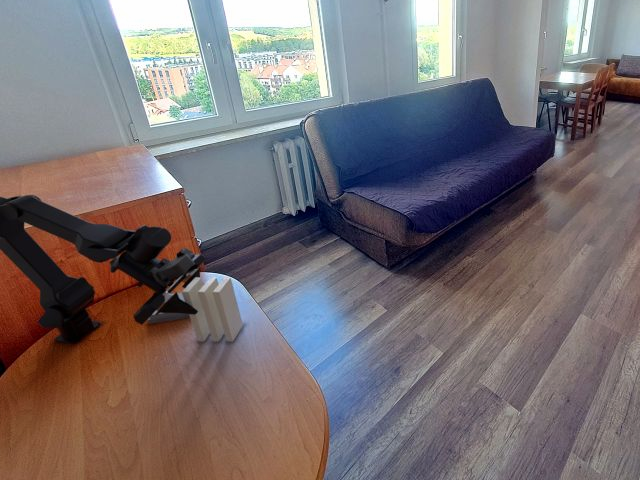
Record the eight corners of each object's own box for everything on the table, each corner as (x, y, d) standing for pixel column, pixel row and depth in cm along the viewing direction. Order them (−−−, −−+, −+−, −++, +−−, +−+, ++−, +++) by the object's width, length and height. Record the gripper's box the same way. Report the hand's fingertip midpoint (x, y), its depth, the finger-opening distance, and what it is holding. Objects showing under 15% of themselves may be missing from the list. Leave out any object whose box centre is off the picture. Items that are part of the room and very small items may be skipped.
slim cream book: (197, 341, 84) (181, 291, 78) (209, 325, 89) (195, 277, 83) (204, 341, 84) (188, 291, 78) (215, 325, 89) (201, 277, 83)
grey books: (148, 324, 89) (145, 316, 88) (163, 302, 96) (160, 295, 95) (194, 316, 91) (192, 309, 90) (205, 295, 99) (203, 289, 98)
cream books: (212, 341, 84) (197, 291, 78) (224, 325, 89) (210, 277, 83) (232, 341, 84) (219, 292, 78) (243, 325, 89) (230, 277, 83)
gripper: (130, 276, 68) (196, 317, 72) (190, 227, 86) (241, 262, 90) (105, 305, 71) (170, 343, 75) (168, 252, 89) (218, 285, 93)
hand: (203, 304), depth 83 cm, fingers closed on slim cream book, 5 cm apart
